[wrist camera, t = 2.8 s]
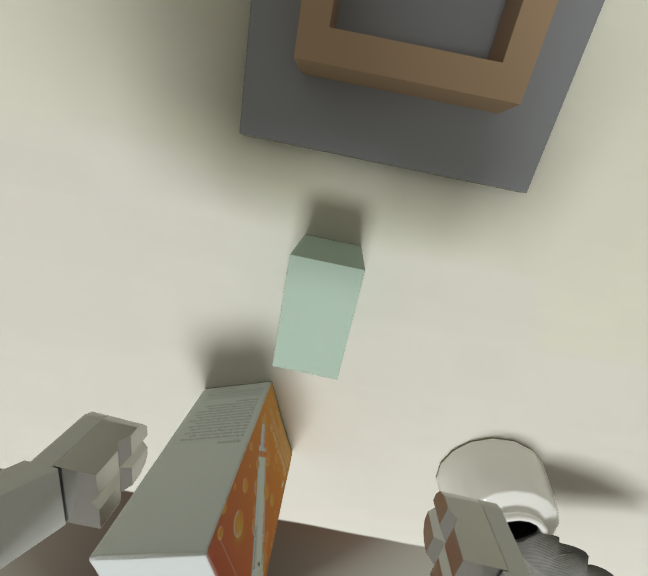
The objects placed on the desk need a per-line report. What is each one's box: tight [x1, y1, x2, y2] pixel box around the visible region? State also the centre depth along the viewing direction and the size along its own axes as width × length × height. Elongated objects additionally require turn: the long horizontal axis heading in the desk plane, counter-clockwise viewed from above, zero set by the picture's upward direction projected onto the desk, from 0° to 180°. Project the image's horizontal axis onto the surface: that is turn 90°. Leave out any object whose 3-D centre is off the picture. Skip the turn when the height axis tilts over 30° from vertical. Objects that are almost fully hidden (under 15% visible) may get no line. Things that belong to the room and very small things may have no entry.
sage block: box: [272, 235, 365, 380], centre depth 20 cm, size 4×7×6 cm, turn 169°
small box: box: [89, 382, 292, 576], centre depth 22 cm, size 8×6×13 cm
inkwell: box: [436, 438, 613, 576], centre depth 23 cm, size 9×18×10 cm, turn 74°
